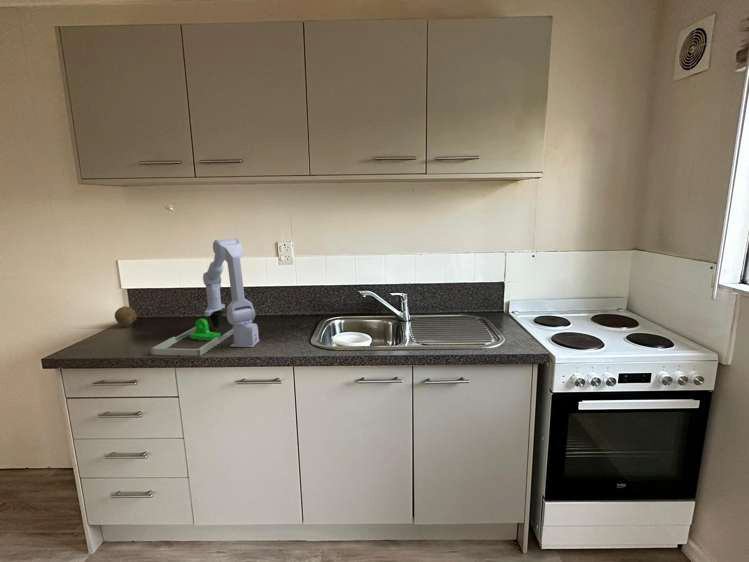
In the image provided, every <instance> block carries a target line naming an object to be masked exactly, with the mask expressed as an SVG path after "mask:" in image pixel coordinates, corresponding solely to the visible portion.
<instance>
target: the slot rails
mask: <svg viewBox="0 0 749 562" xmlns="http://www.w3.org/2000/svg"><path fill="white" fill-rule="evenodd" d="M195 332H196V326H194V327H192V328H190V329H188V330H187V331H184V332H183V333H181V334H179V335H177V336H174V337H175V338H176V343H178V342H180V341H182V340H183V338H184V339H185V338H188V337H189V336H188V335H190V334H192V333H195ZM230 335H231V336H232V335H233V328H231V329H230V330H228V331H227V332H225V333H223V334H222V335H221V336H220V337H219V338H218V340H219V344H221V343H222V342H223V341H225V340H226V339H228V338H229V337H231V336H230ZM227 337H228V338H227ZM181 339H182V340H181ZM224 339H225V340H224Z"/></svg>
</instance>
